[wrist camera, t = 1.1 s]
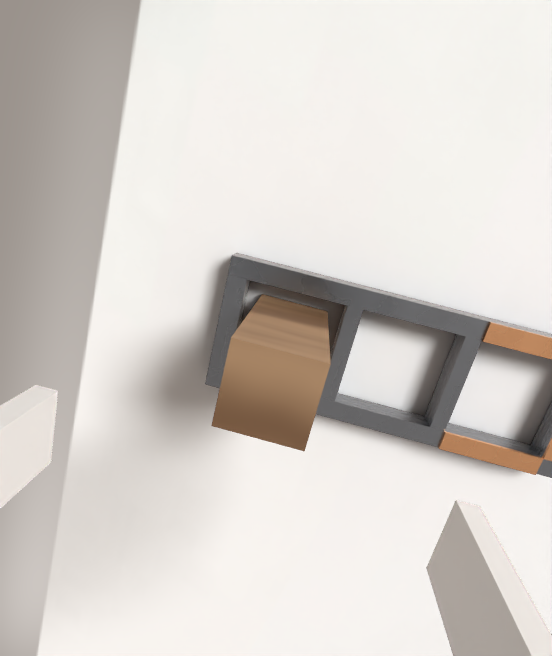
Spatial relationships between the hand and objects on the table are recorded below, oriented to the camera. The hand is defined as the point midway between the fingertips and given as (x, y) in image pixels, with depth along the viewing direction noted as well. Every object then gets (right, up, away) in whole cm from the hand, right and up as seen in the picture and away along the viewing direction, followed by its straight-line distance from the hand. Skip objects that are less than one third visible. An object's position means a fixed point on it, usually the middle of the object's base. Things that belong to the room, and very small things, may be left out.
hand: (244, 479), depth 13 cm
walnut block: (+2, +4, +15) cm, 16 cm away
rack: (+9, +3, +15) cm, 17 cm away
